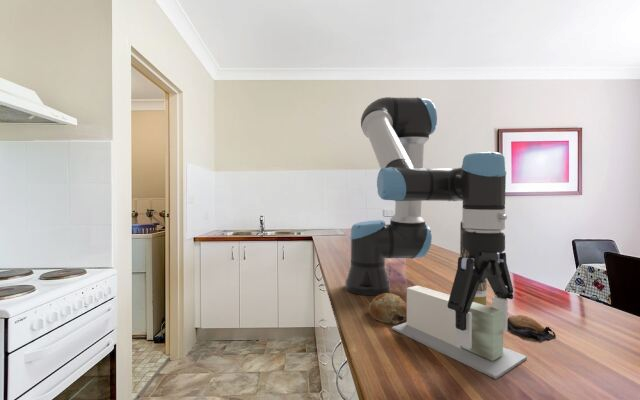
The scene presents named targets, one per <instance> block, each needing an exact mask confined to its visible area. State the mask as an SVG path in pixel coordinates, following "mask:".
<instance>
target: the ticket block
mask: <svg viewBox="0 0 640 400" xmlns="http://www.w3.org/2000/svg"><path fill="white" fill-rule="evenodd" d="M449 297H450V294H449V293H445V292H441V291H438V290H434V289H430V288H428V287H424V286H421V285H413V286H409V287H406V305H407V320H406V322H402V323H399V324H396V325H395V326H391V329H392V330H394V331H395V332H398V333H400V334H401V335H404V336H405V337H407V338H410V339H412V340H415V341H416V342H418V343H420V344H422V345H424V346H427V347H429V348H430V349H433V350H435V351H436V352H438V353H441V354H442V355H445V356H447V357H449V358H452V359H454V360H456V361H458V362H459V363H462V364H464V365H466V366H468V367H469V368H473V369H474V370H476V371H478V372H480V373H482V374H484V375H487V376H489V377H490V378H493V379H495V380H497V379H499V378H500V377H502V376H503V375H505V374H506V373H508V372H509V371H511V370H513V369H514V368H515V367H516V366H519V365H521V363H523V362H524V361H526V360H528V356H527V355H525V354H522V353H519V352H517V351H515V350H512V349H509V348H507V347H504V346H503V355H502V356H500V357H499V358H497V359H495V360H493V361H491V360H489V359H487V358H484V357H482V356H480V355H478V354H475V353H473V352H471V351H468V350H466V349H464V348H462V346H461V345H458V344H456V312H455V310H452V309H449V308H448V306H447V305H448V301H449ZM454 303H455V302H454Z"/></svg>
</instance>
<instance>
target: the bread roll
mask: <svg viewBox="0 0 640 400" xmlns="http://www.w3.org/2000/svg"><path fill="white" fill-rule="evenodd" d="M368 307H369V315H370V316H371V317H372V318H373V320H375V321H378V322H381V323H383V324H392V325H398V324H401V323H404V322H405V321H407V302H405V301H404V299H402V298H401V296H400V295H396V294H394V293H391V292H388V293H383V294H380V295H375V297H374V298H372V300H371V302H370V303H369V304H368Z"/></svg>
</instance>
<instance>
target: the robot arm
mask: <svg viewBox="0 0 640 400" xmlns="http://www.w3.org/2000/svg"><path fill="white" fill-rule="evenodd" d="M437 123H438V113H437V109H436V106H435V104H434V103H433V101H432V100H431V99H428V98H421V97H418V96H417V97H391V96H390V97H388V96H387V97H381V98H380V97H379V98H378V99H376V100H374V101H373V102H371V103H370V104H369V105H367V106H366V108H365V109H364V111H363V112H362V115H361V117H360V127H361V131H362V132H363V135H364V136H365V137H366V138H368V139H369V142H370V145H371V148H372V151H373V152H374V156H375V158H376V160H377V162H378V165H379V168H380V170H379V171H378V174H377V177H376V187H377V194H378V196H379V198H380V199H381V200H384V201H394V202H395V206H394V207H395V208H394V214H393V216H392V217H391V218H390V219H389V221H390V223H388V224H386V221H385V220H381V219H377V220H367V221H360V222H356V223H354V224H353V225H352V226H351V228H350V229H351V230H350V237H349V239H350V267H349V271H348V274H347V278H346V279H345V290H346V291H348V292H349V293H352V294H356V295H362V296H378V295H380V294H383V293H390V291H391V283H390V280H389V278H388V274H387V271H386V267H385V265H386V264H385V263H386V259H409V260H410V259H411V260H413V259H420V258H423V257H425V256H427V254H428V253H429V251H430V249H431V246H432V240H433V239H432V230H431V228H430V226H429V225H428V224H426V220H425V219H424V217H423V215H422V201H428V202H431V201H433V202H436V201H437V202H438V201H439V202H441V201H442V202H443V201H444V202H458V201H460V202H461V201H462V217H461V218H462V227H463V228H465V231H464V232H463V233H462V246H463V248H464V249H465V250H468V252H469V255H468V258H463V257H460V256H459V257H458V258H457V268H456V272H455V276H454V279H453V283H452V287H451V291H450V294H449V295H450V297H449V301H448V305H447V306H448V308H449V309H452V310H455V312H456V344H458V345H461V346H463V347H465V348H468V349H471V348H472V313H470V312H469V310H470V307H471V305H472V302H473V300H474V297H475V295H476V292H477V290H478V287H479V285H480V283H483V282H484V280H485V279H486V278H487V281H488V284H489V285H490V287H491V290H492V292H493V293H494V295H495V296H492V304H491V306H492V308H496V309H499V310H502V311H503V332H508V331H507V320H508V318H509V317H508V314H509V313H508V303H509V302H508V299H509V300H513V299H514V287H513V283H512V280H511V276H510V272H509V271H510V270H509V267H508V264H507V254H506V252H504V251H505V250H506V234H505V233H504V232H502V231H503V230H505V229H506V220H507V218H508V216H507V215H506V186H507V185H506V180H507V179H506V175H507V171H506V162H505V161H506V159H505V156H504V154H503V153H500V152H497V151H486V152H485V151H483V152H481V151H480V152H473V153H472V152H471V153H468V154H465V155H464V156H463V158H462V164H461V167H456V168H450V167H449V168H448V167H447V168H446V167H445V168H443V167H442V168H440V167H439V168H438V167H435V168H434V167H432V168H431V167H430V168H428V167H424V150H425V148H424V147H425V143H427V142H428V141H429V139H430V135H432V134H433V133H434V132H435V130H436V127H437ZM472 274H473V275H472ZM454 302H455V303H454Z"/></svg>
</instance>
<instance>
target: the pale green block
mask: <svg viewBox="0 0 640 400" xmlns="http://www.w3.org/2000/svg"><path fill="white" fill-rule="evenodd" d="M469 312H470V313H472V348H471V349H468V348H465V347H463V346H462V348H464V349H466V350H468V351H471V352H473V353H475V354H478V355H480V356H482V357H484V358H487V359H489V360H491V361H493V360H495V359H497V358H499V357H500V356H502V355H503V347H504V331H503V311H502V310H499V309H496V308H492V307H491V306H489V305H487V304H486V305H482V304H479V303H475V302H472V305H471V307H470V310H469Z"/></svg>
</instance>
